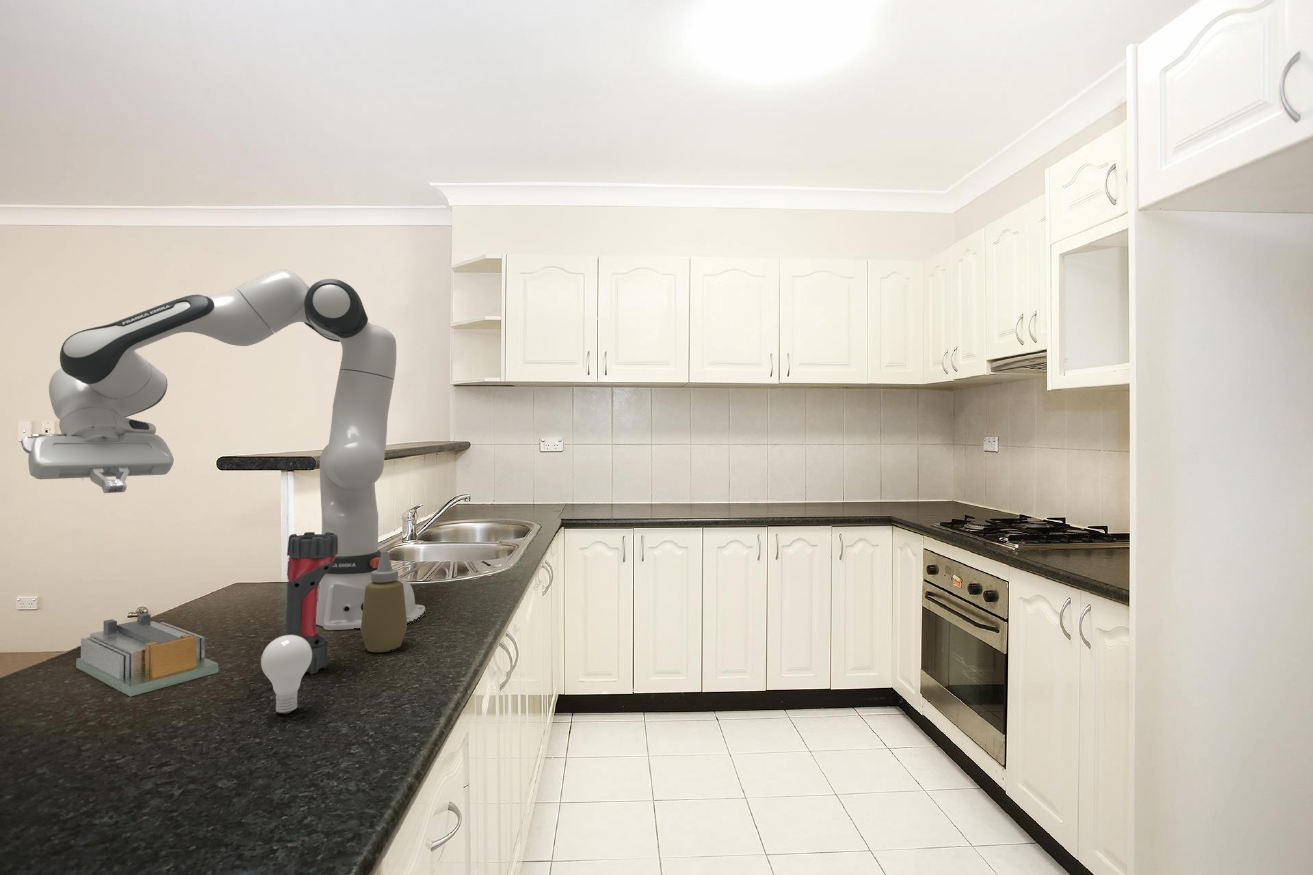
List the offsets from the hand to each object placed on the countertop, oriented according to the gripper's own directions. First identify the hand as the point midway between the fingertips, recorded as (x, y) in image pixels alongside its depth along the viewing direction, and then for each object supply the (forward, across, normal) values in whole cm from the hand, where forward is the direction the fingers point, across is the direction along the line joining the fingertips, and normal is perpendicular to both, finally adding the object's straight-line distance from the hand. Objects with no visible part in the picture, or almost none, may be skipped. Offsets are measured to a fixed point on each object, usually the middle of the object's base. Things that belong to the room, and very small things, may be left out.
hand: (115, 490), depth 115 cm
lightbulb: (+56, +4, -14) cm, 58 cm away
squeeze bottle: (+46, +29, -5) cm, 55 cm away
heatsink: (+30, 0, +11) cm, 32 cm away
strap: (+26, 0, +7) cm, 27 cm away
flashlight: (+46, +15, -4) cm, 49 cm away
